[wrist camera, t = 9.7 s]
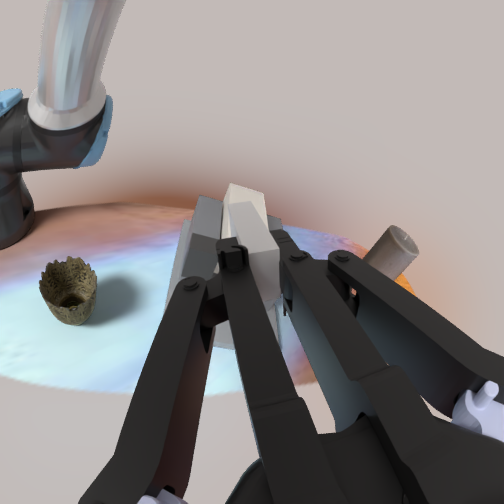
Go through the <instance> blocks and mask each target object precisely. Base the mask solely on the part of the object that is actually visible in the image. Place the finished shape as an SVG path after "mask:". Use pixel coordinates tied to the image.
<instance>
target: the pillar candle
mask: <svg viewBox="0 0 504 504" xmlns="http://www.w3.org/2000/svg"><path fill="white" fill-rule="evenodd" d="M418 254H419V250H418V248H417V246H416V244H415V242H414V241H413V239H411V237H410V236H409V235H408V234H407V233H405V232H404V231H403V230H402V229H400V228H398V227H397V226H394V225H391V226H390V227H389V228H388V229H387V230H386V231H385V233H384V234H383V235H382V236H381V237H380V239H379V240H378V241H377V242H376V243H375V245H374V246H373V247H372V249H371V250H370V251H369V252H368V253H367V254H366V255H365V257H364V258H363V259H362V260H363V261H365V262H366V263H368V264H369V265H371V266H372V267H374V268H375V269H377V270H378V271H380V272H381V273H383V274H384V275H386V276H387V277H389V278H390V279H391V280H393V281H394V280H395V279H396V278H397V277H398V276H399V275H400V274H401V273H402V272H403V271H404V270H405V269H406V268H407V266H408V265H409V264H410V263H411V262H412V261H413V260H414V259H415V258H416V257H417V256H418Z"/></svg>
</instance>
